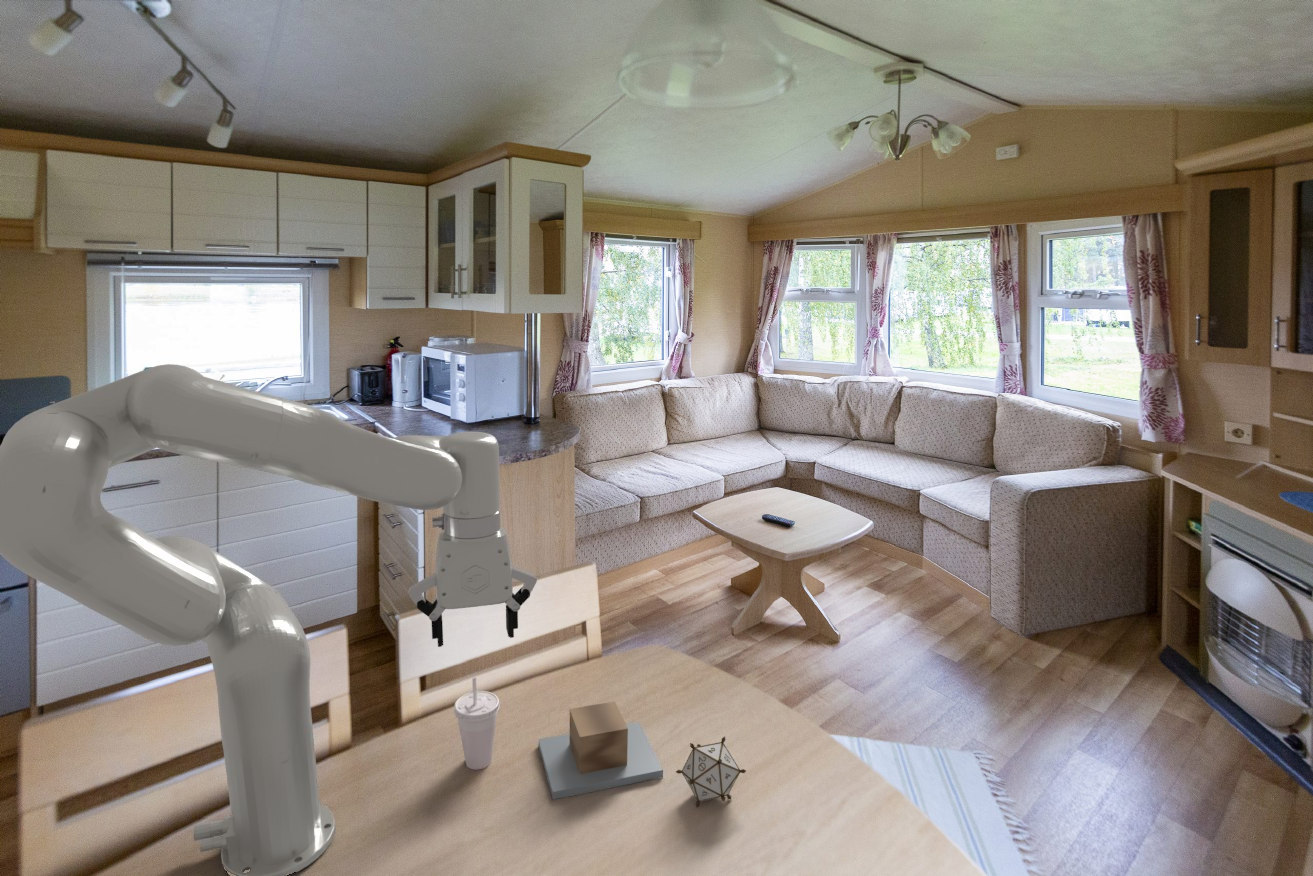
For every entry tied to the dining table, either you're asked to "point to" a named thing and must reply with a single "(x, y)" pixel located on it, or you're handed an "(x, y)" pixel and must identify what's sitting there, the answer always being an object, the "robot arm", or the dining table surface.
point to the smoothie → (477, 725)
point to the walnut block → (598, 737)
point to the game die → (710, 771)
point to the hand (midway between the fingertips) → (475, 637)
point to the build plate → (571, 782)
